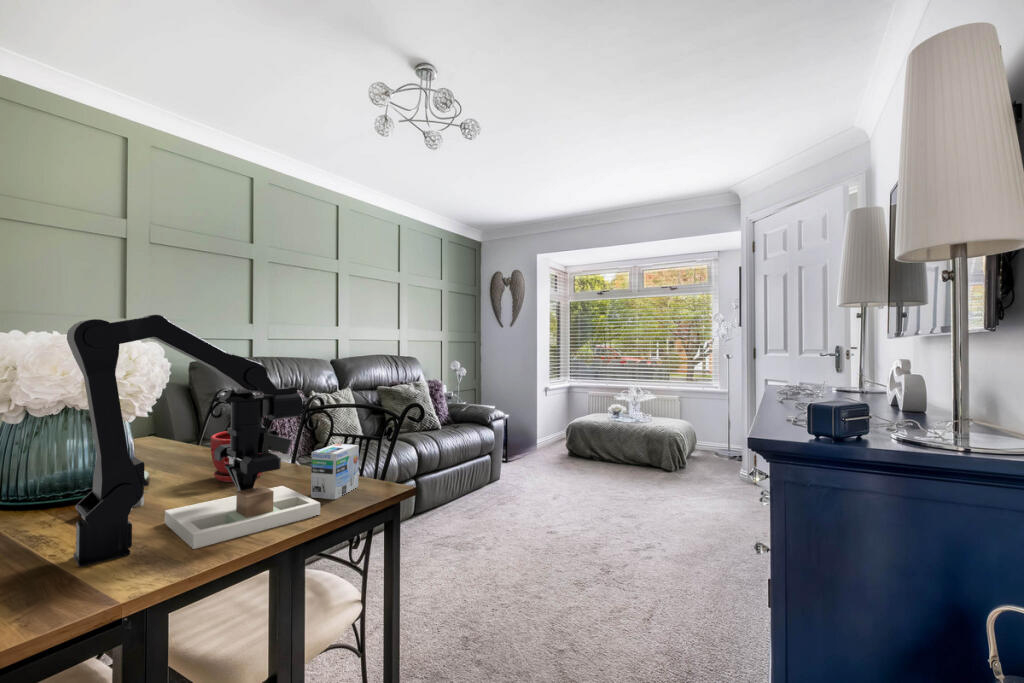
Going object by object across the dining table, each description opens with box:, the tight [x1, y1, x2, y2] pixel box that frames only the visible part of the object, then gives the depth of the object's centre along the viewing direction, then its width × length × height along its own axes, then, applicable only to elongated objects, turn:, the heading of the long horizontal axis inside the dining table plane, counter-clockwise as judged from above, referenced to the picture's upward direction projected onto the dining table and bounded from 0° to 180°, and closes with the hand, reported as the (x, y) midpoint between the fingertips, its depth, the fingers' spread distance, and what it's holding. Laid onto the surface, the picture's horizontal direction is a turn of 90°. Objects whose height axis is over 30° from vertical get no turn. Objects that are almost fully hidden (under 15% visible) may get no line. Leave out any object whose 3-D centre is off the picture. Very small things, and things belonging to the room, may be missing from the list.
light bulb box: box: [310, 443, 360, 500], centre depth 116 cm, size 11×7×11 cm, turn 168°
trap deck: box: [164, 485, 321, 550], centre depth 98 cm, size 23×18×2 cm
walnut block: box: [236, 486, 273, 518], centre depth 95 cm, size 5×5×4 cm
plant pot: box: [210, 430, 264, 483], centre depth 127 cm, size 13×13×12 cm
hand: (245, 499), depth 98 cm, fingers closed
